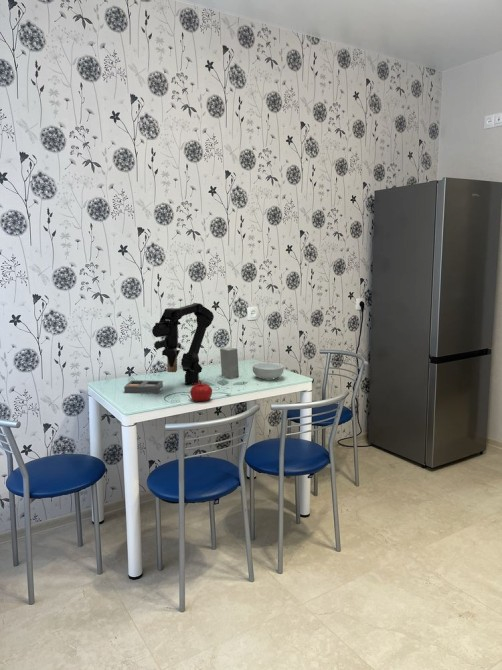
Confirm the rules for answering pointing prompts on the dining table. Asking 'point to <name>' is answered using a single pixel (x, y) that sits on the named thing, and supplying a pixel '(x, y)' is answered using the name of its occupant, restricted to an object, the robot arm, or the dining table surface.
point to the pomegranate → (201, 392)
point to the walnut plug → (174, 368)
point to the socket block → (143, 386)
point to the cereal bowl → (268, 370)
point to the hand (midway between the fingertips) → (172, 366)
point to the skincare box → (229, 362)
